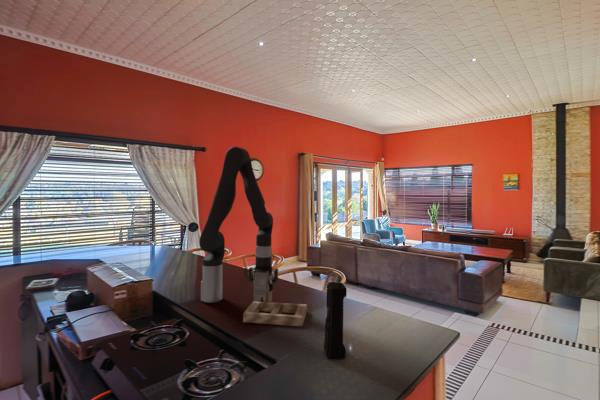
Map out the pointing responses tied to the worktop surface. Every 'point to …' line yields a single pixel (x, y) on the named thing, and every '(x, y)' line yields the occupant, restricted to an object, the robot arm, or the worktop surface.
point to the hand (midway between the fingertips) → (263, 290)
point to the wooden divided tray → (275, 313)
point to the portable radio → (335, 321)
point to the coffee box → (262, 285)
